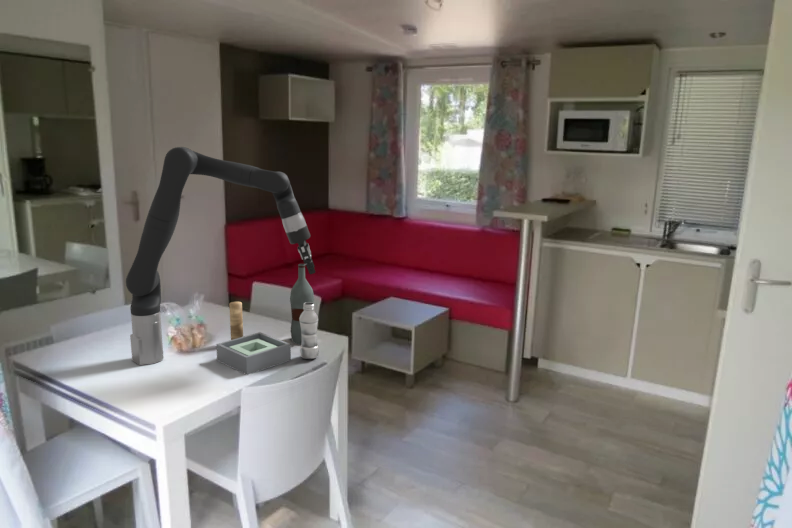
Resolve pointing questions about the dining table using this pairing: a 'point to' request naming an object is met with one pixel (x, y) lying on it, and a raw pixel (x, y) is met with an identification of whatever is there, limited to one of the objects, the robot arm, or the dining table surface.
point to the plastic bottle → (309, 332)
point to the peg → (236, 320)
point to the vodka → (299, 302)
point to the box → (256, 360)
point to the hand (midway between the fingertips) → (312, 270)
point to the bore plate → (252, 347)
